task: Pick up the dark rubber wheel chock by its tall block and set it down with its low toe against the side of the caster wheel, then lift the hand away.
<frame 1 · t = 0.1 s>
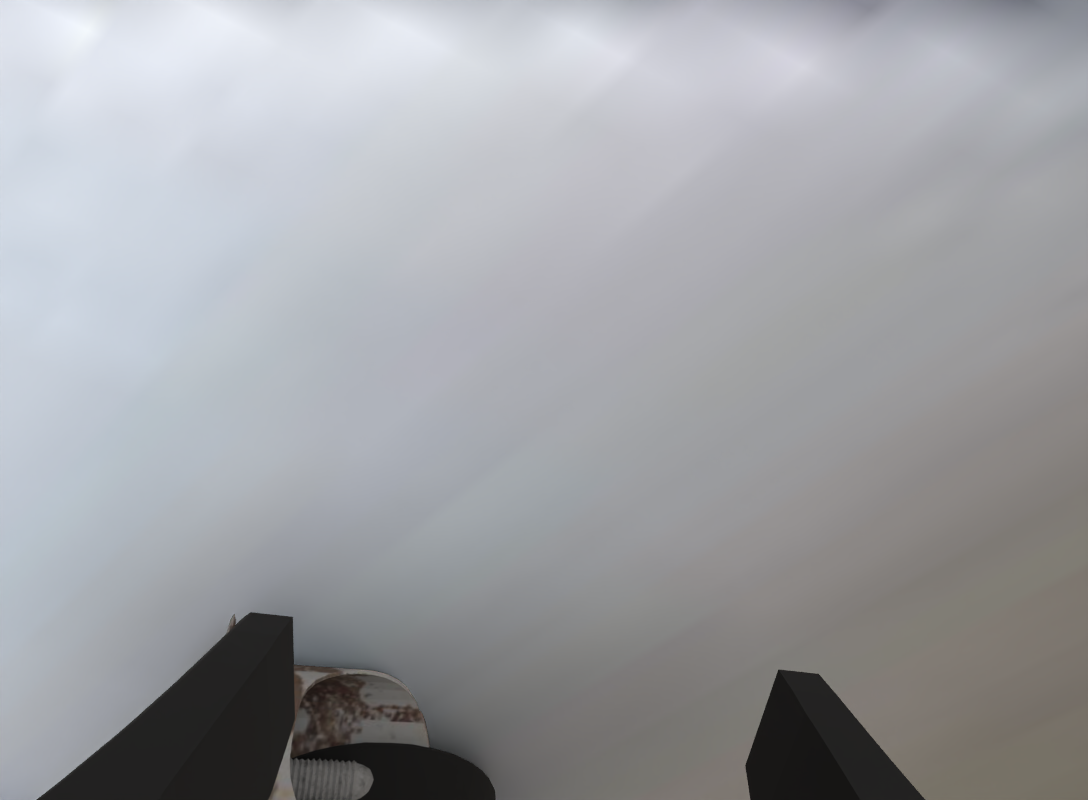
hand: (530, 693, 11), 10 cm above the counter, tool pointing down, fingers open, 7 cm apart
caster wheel: (373, 738, 26), on the counter
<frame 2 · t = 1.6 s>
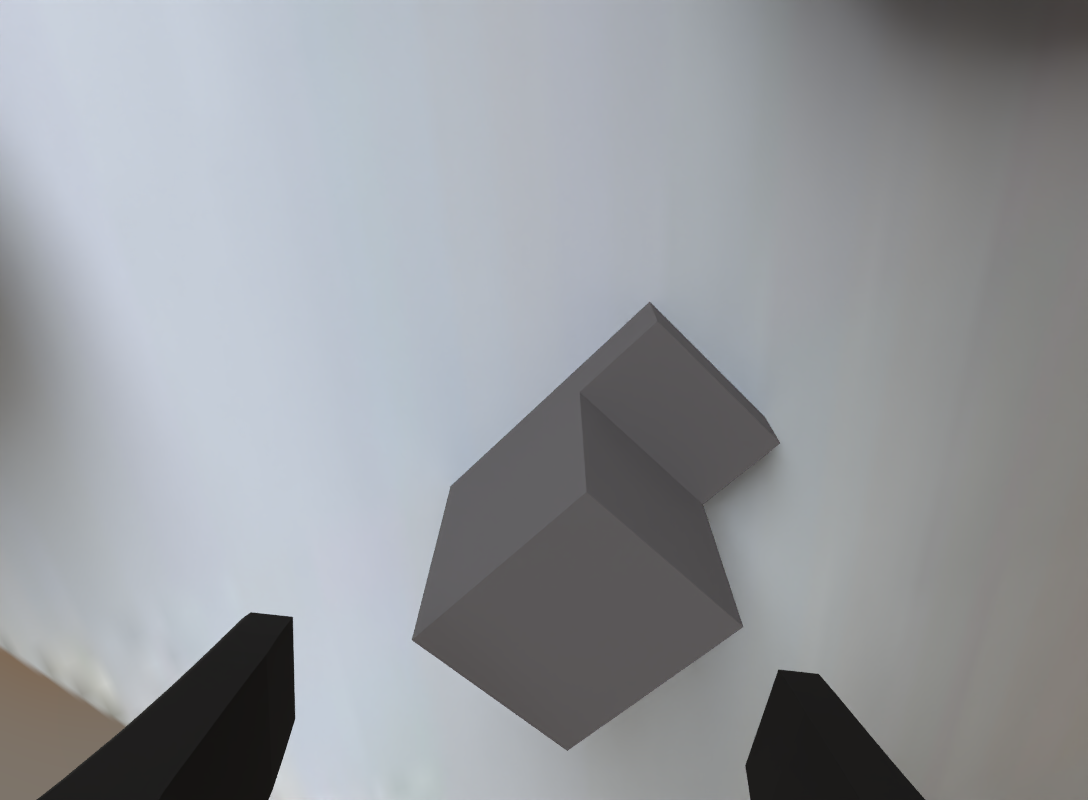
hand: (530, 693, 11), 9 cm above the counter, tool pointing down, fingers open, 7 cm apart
wheel chock: (596, 458, 20), on the counter
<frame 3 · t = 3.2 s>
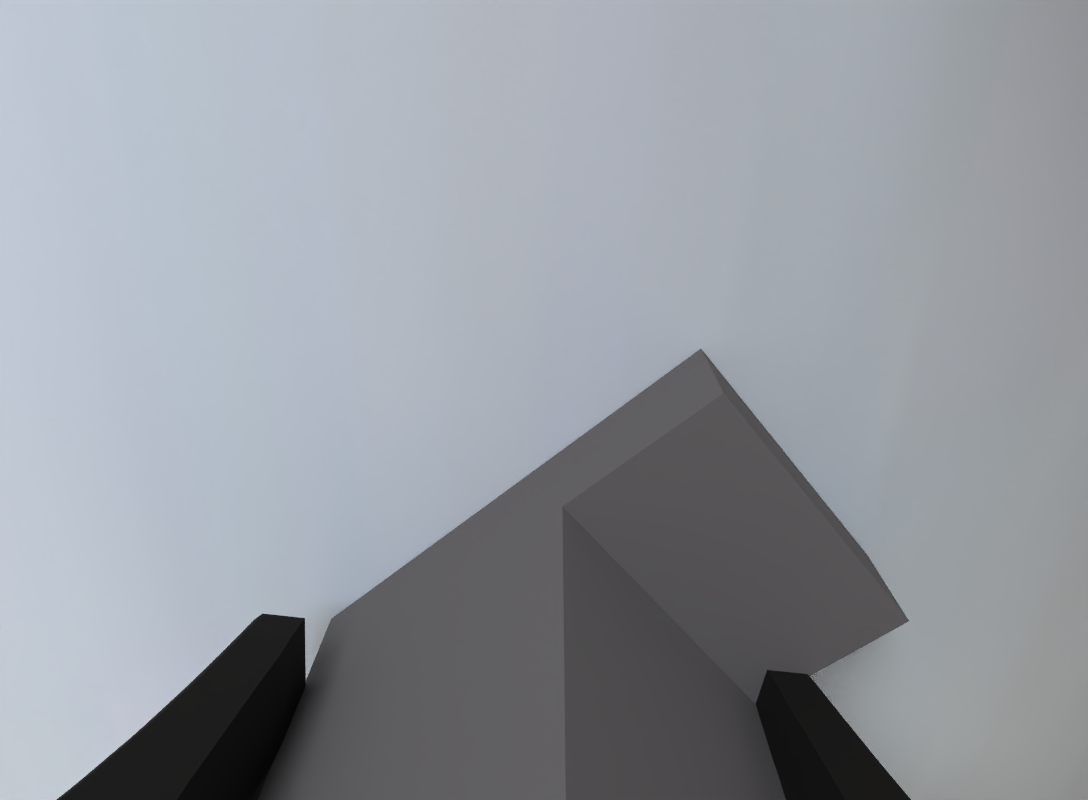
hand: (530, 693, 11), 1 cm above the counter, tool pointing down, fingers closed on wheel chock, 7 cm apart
wheel chock: (579, 595, 12), on the counter, touching gripper
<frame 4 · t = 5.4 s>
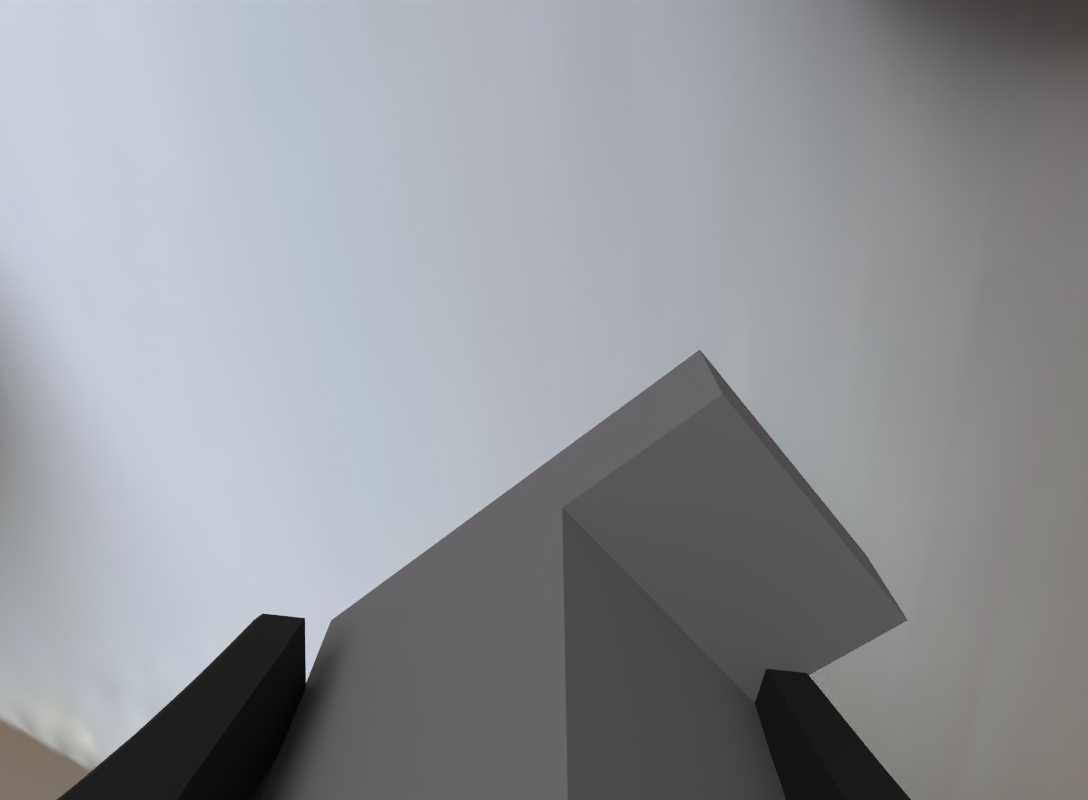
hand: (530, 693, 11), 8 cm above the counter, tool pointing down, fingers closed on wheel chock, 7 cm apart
wheel chock: (578, 596, 12), point 7 cm above the counter, touching gripper
when the fingers open (2 cm above the counter, at t = 7.7 s): wheel chock stays where it is, on the counter.
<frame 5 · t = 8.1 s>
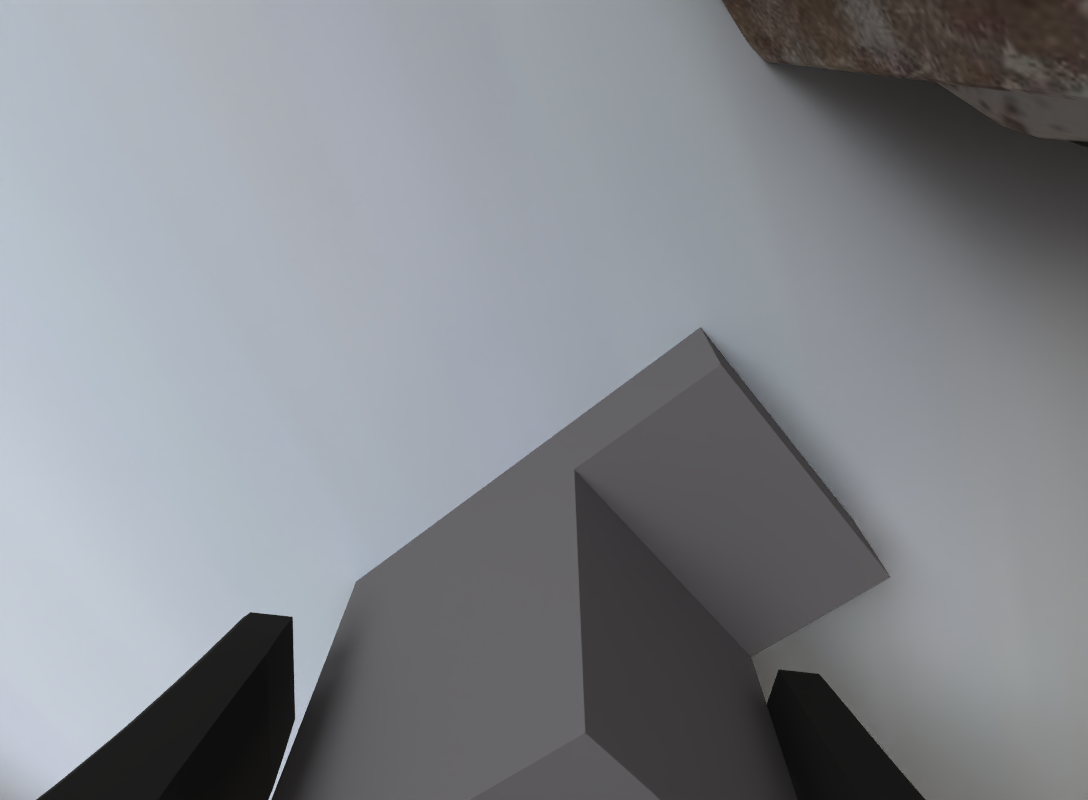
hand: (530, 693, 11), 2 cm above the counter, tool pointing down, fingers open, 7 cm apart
wheel chock: (586, 559, 13), on the counter, touching gripper
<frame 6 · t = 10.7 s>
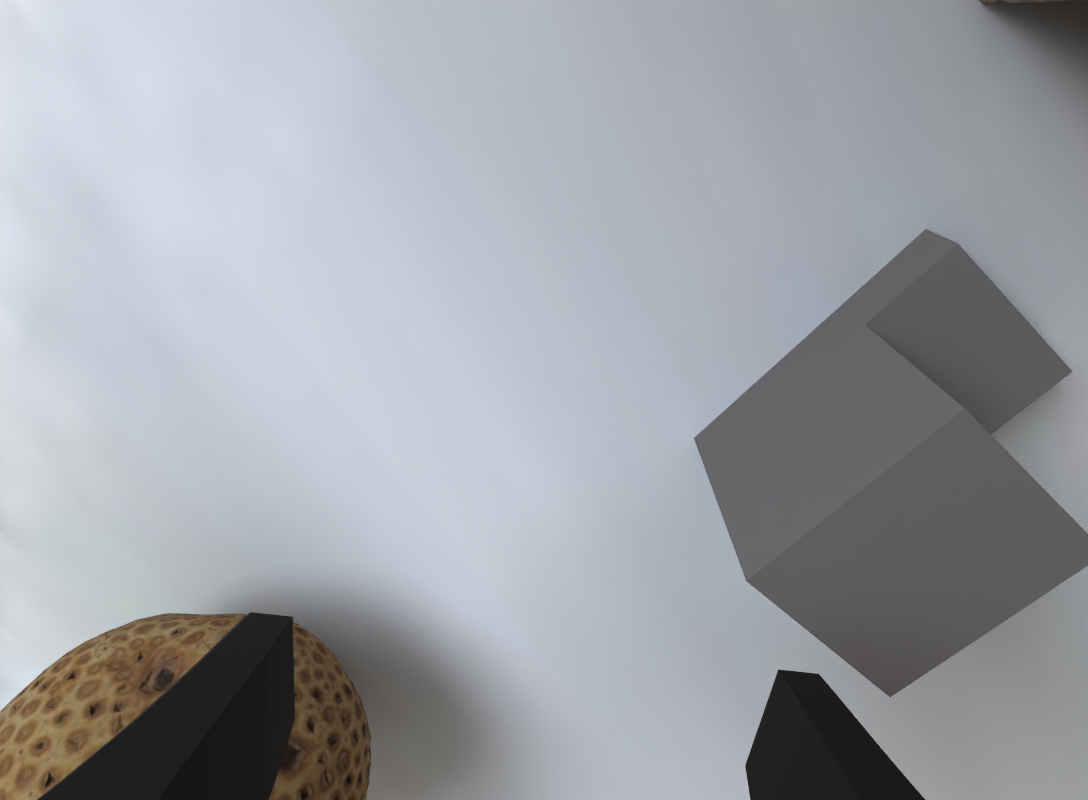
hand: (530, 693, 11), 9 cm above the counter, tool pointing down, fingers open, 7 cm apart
natural sponge: (263, 632, 23), on the counter
wheel chock: (851, 401, 19), on the counter
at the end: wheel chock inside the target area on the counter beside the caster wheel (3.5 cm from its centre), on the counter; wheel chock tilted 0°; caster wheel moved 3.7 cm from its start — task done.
